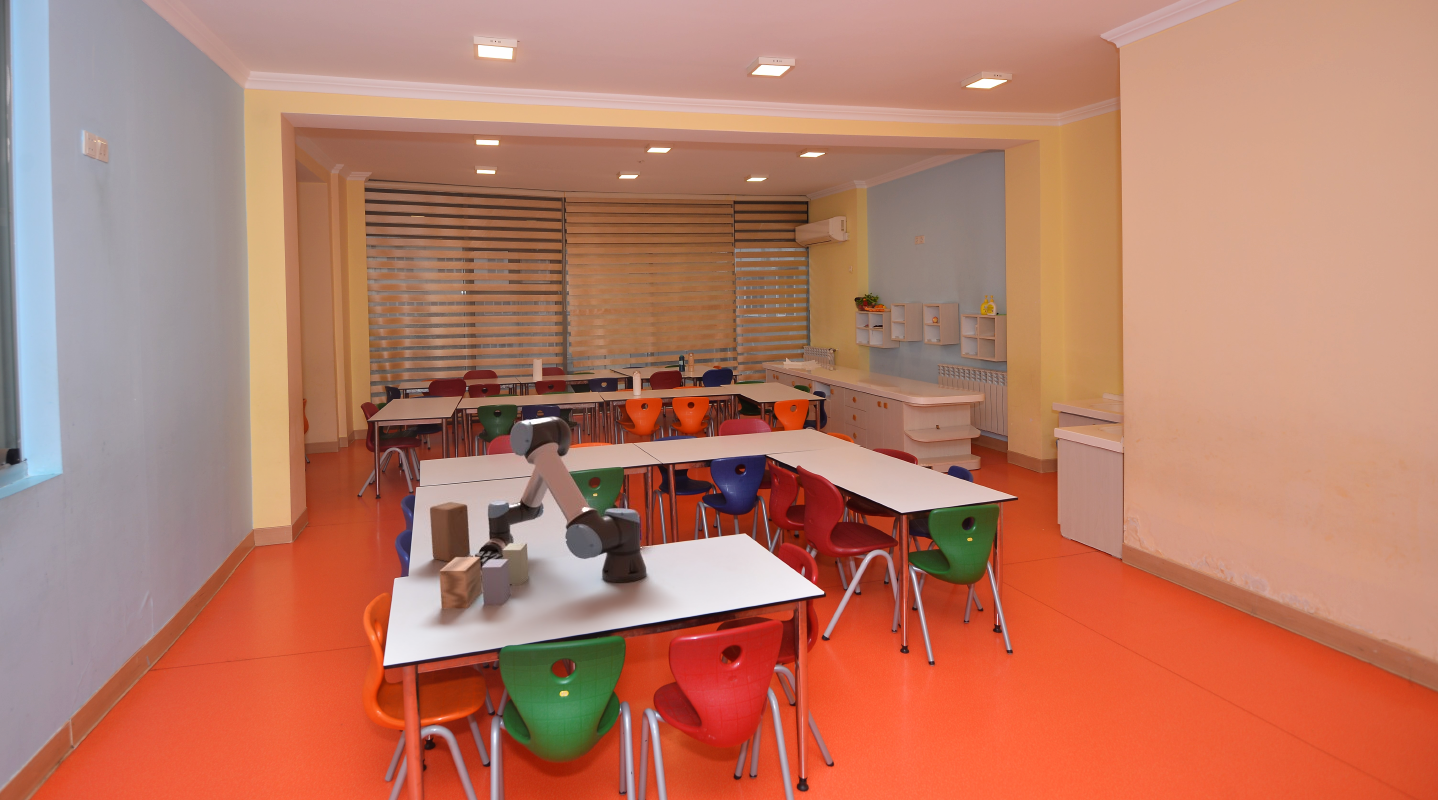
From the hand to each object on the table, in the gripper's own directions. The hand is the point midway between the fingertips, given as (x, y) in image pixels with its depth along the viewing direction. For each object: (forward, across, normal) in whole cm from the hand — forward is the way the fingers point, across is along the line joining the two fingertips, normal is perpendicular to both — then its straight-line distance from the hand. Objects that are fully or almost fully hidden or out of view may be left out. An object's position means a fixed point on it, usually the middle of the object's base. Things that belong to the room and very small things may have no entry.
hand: (470, 573), depth 256 cm
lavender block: (+9, -11, -6) cm, 15 cm away
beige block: (-9, -12, -6) cm, 17 cm away
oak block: (+8, 0, -6) cm, 10 cm away
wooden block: (-38, +20, -6) cm, 43 cm away
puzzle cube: (-53, -44, -6) cm, 69 cm away
